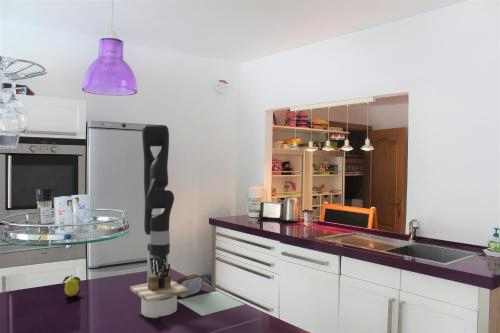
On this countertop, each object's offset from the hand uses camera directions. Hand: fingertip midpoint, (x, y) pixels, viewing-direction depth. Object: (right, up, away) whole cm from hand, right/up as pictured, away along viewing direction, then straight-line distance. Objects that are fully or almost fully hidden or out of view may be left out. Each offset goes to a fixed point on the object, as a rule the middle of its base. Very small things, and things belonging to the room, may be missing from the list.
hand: (159, 286), depth 152 cm
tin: (+9, -10, +18) cm, 22 cm away
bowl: (0, -10, 0) cm, 10 cm away
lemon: (-41, -9, +15) cm, 45 cm away
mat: (+19, -10, +8) cm, 23 cm away
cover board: (0, -2, 0) cm, 2 cm away
